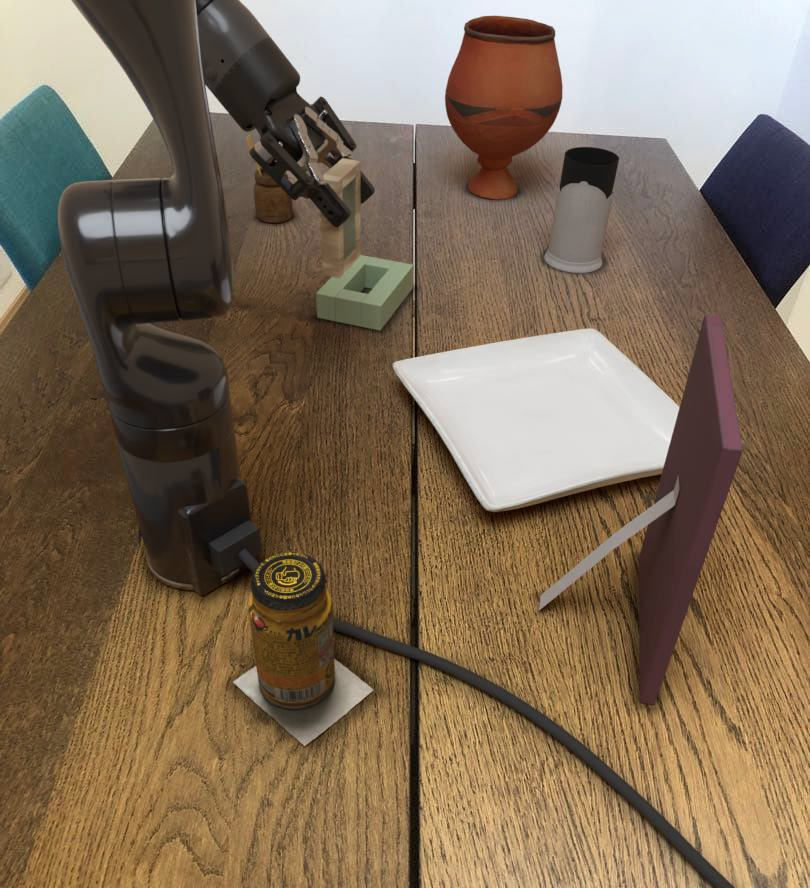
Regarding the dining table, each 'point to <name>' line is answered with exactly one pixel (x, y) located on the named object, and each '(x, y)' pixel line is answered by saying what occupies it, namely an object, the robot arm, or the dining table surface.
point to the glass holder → (582, 209)
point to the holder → (362, 309)
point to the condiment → (296, 649)
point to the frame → (346, 239)
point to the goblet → (503, 95)
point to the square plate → (543, 415)
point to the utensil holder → (270, 196)
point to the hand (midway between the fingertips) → (356, 209)
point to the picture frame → (680, 508)
